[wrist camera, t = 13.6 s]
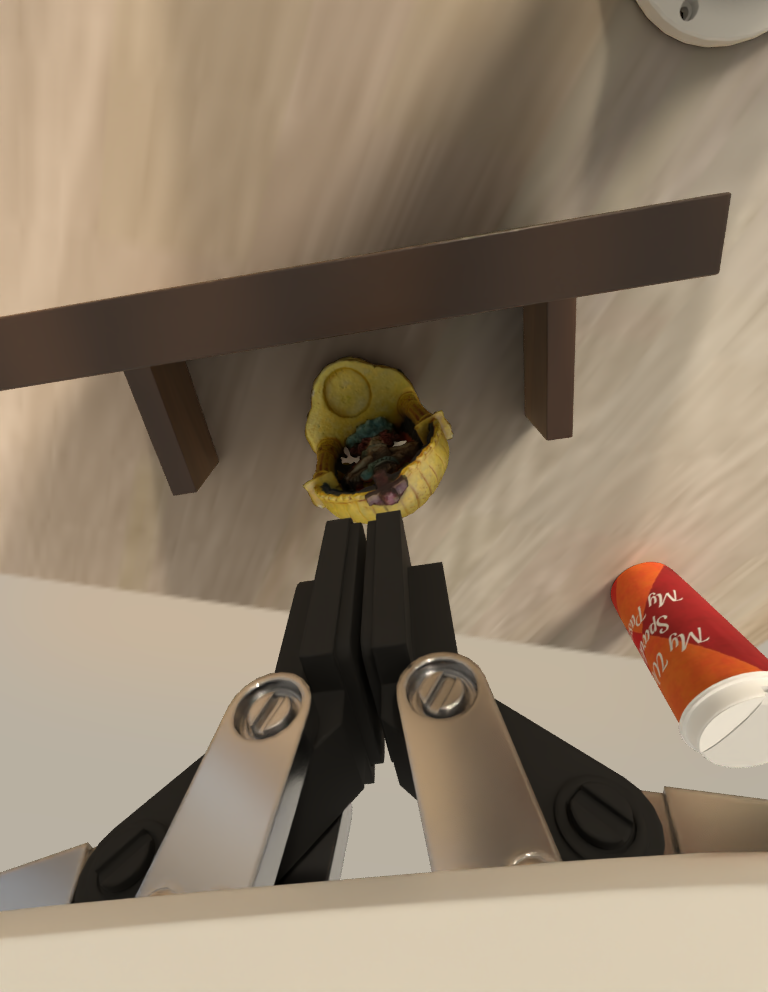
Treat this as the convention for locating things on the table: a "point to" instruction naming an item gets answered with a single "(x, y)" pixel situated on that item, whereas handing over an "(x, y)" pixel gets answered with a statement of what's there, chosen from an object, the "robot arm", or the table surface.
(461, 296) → the wooden stand
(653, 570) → the paper cup
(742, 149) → the table surface
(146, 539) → the table surface
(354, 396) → the shrine
